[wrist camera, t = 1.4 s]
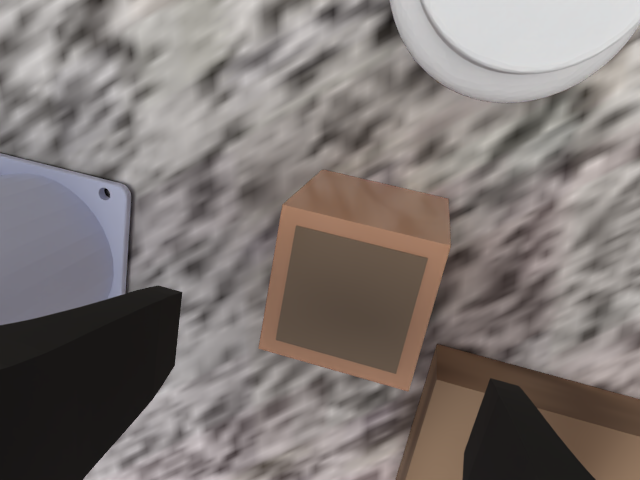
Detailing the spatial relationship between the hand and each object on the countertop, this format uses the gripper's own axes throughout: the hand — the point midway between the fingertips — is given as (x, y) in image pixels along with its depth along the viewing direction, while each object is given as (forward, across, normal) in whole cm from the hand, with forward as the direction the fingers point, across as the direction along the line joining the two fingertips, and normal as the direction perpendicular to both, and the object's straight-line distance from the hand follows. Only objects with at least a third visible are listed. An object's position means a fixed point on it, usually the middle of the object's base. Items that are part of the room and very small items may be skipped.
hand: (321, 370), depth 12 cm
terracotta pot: (+9, 0, 0) cm, 9 cm away
